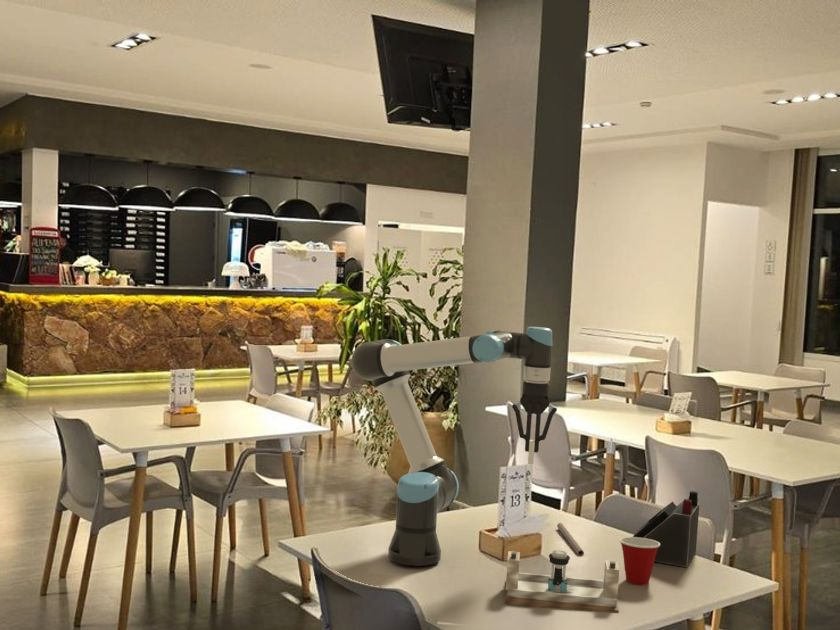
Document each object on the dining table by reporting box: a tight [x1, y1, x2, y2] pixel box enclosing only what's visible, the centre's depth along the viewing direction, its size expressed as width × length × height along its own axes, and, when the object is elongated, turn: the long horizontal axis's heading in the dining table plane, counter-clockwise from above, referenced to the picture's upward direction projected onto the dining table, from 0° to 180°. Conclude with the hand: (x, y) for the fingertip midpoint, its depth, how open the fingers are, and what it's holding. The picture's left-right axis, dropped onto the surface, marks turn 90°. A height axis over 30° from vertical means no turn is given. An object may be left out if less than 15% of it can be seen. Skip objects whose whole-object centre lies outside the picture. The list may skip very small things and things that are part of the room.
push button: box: [548, 549, 573, 592], centre depth 231 cm, size 7×5×10 cm
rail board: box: [504, 550, 620, 613], centre depth 231 cm, size 28×17×11 cm, turn 82°
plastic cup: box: [619, 536, 660, 586], centre depth 244 cm, size 11×11×12 cm
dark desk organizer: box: [632, 490, 700, 568], centre depth 266 cm, size 16×16×20 cm
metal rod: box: [556, 522, 585, 556], centre depth 279 cm, size 2×27×2 cm, turn 4°
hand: (530, 463), depth 257 cm, fingers closed
